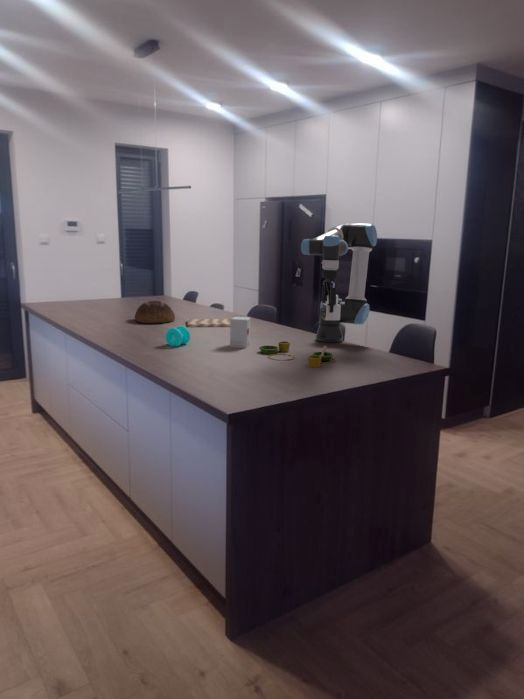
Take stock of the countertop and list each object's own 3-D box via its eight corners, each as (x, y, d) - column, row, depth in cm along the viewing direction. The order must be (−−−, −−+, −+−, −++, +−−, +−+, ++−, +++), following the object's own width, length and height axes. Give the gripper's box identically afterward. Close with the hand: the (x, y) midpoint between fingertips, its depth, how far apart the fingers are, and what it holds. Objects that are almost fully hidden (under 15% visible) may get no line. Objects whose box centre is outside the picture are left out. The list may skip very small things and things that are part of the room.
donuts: (164, 346, 277) (164, 327, 274) (176, 342, 285) (175, 324, 283) (180, 348, 272) (179, 329, 270) (191, 345, 281) (191, 326, 279)
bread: (172, 317, 369) (171, 298, 366) (178, 323, 344) (177, 303, 341) (133, 318, 361) (132, 298, 358) (136, 325, 336) (135, 304, 333)
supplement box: (246, 348, 275) (247, 319, 272) (229, 347, 277) (229, 318, 274) (250, 345, 284) (251, 317, 280) (234, 344, 285) (234, 316, 282)
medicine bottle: (321, 318, 258) (323, 293, 256) (336, 318, 259) (337, 293, 257) (325, 320, 251) (326, 294, 249) (340, 320, 252) (341, 295, 250)
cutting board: (232, 321, 356) (232, 318, 356) (236, 326, 337) (236, 324, 336) (186, 321, 351) (186, 319, 351) (187, 327, 332) (187, 324, 331)
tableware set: (347, 366, 245) (348, 353, 244) (295, 373, 232) (296, 358, 231) (300, 348, 281) (300, 336, 279) (252, 353, 268) (253, 340, 267)
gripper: (316, 267, 259) (313, 314, 264) (329, 270, 240) (326, 321, 245) (331, 268, 261) (328, 314, 265) (345, 271, 241) (342, 321, 246)
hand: (327, 317), depth 255 cm, fingers closed on medicine bottle, 7 cm apart
